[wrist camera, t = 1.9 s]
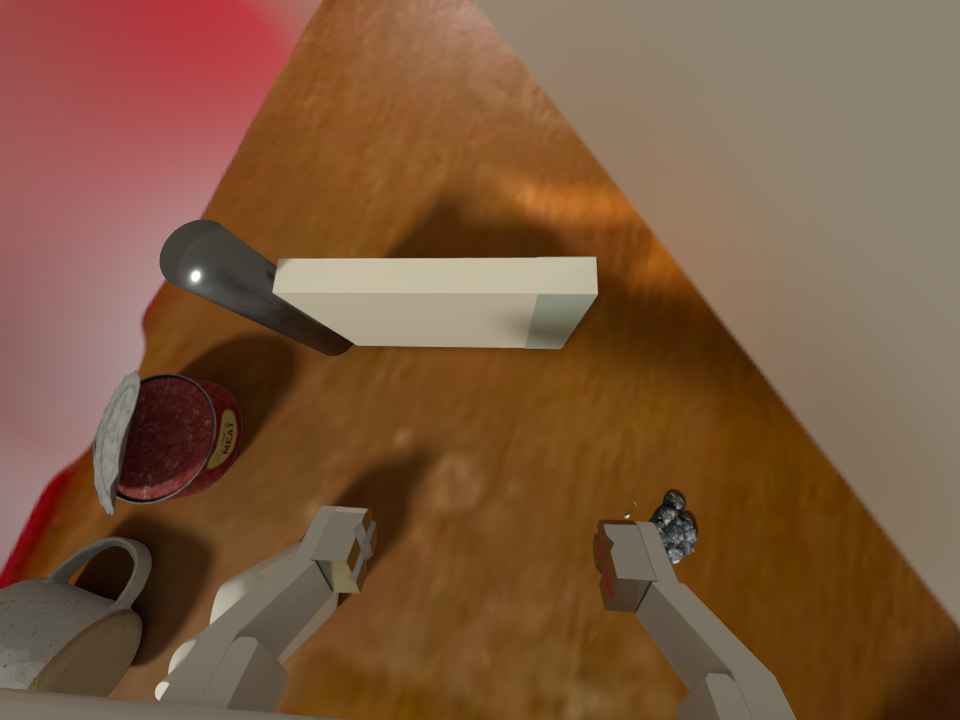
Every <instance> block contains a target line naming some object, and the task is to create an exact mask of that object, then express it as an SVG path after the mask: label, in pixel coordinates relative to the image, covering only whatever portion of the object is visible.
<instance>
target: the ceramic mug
mask: <svg viewBox="0 0 960 720" xmlns="http://www.w3.org/2000/svg"><path fill="white" fill-rule="evenodd" d="M112 546H118V547H121V548H124V549H126V550H128V551H129V553H130V555H131V557H132V558H133V561H134V569H133V572H132V576H131V578H130V580H129V581H128V583H127V585H126V587H125V589H124V591H123V592H122V593H121V594H120V596H119V597H118V599H117V601H115V600H112V599H108V598H104V597H101V596H98V595H95V594H93V593H91V592H89V591H86V590H84V589H82V588H79V587H77V586H75V585H71V584H68V582H67V581H68V580H69V579H70V577H71V576H72V575H73V574H74V573H75V572H76V571H77V570H79V568H80V567H81V566H83V565H84V564H85V563H86V562H87V561H88V560H90V559H91V558H92V557H94V556H95V555H96V554H98V553H100V552H101V551H103V550H105V549H107V548H110V547H112ZM151 566H152V557H151V554H150V552H149V550H148V548H147V547H146V546H145V545H144V544H143V543H141V542H139V541H137V540H133V539H128V538H123V537H108V538H104V539H101V540H98V541H96V542H93V543H91V544H89V545H87V546H85V547H84V548H82V549H81V550H79V551H77V552H76V553H74V554H73V555H72V556H70V557H69V558H68V559H66V560H65V561H64V562H63V563H62V564H61V565H59V566H58V567H57V568H56V569H55V570H54V571H53V572H52V573H51V574H50V575H49V576H48V577H47V578H36V579H31V580H25V581H21V582H18V583H15V584H13V585H10V586H8V587H5V588H2V589H0V687H1V688H12V689H23V690H33V691H44V692H55V693H66V694H77V695H87V696H98V697H107V696H108V695H109V694H110V693H111V691H112V690H113V689H114V688H115V687H116V685H117V684H118V683H119V681H120V680H121V678H122V677H123V676H124V674H125V673H126V671H127V669H128V668H129V666H130V664H131V662H132V660H133V658H134V657H135V654H136V652H137V650H138V647H139V644H140V641H141V636H142V620H141V618H140V616H139V615H138V614H137V613H135V612H134V611H133V610H132V609H131V605H132V604H133V602H134V601H135V599H136V598H137V597H138V595H139V594H140V593H141V591H142V590H143V588H144V586H145V583H146V580H147V579H148V576H149V573H150V571H151Z"/></svg>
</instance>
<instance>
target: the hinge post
mask: <svg viewBox="0 0 960 720" xmlns="http://www.w3.org/2000/svg"><path fill="white" fill-rule="evenodd" d="M160 268H161V271H162V273H163V275H164V277H165V278H166V279H167V280H168V281H169V282H171V283H172V284H174V285H176V286H178V287H181V288H183V289H185V290H187V291H189V292H191V293H194V294H196V295H198V296H200V297H202V298H204V299H207V300H209V301H211V302H213V303H215V304H217V305H220V306H222V307H224V308H226V309H228V310H230V311H233V312H235V313H237V314H239V315H241V316H243V317H246V318H248V319H250V320H252V321H254V322H256V323H259V324H261V325H263V326H265V327H267V328H269V329H272V330H274V331H276V332H278V333H280V334H282V335H285V336H287V337H289V338H291V339H293V340H296V341H298V342H300V343H302V344H304V345H306V346H309V347H311V348H313V349H315V350H317V351H319V352H322V353H324V354H326V355H330V356H336V355H340V354H342V353H344V352H346V351H347V350H348V349H349V348H350V347H351V345H352V342H351V341H349V340H348V339H346V338H344V337H343V336H341V335H340V334H338V333H336V332H335V331H333V330H332V329H330V328H328V327H327V326H325V325H324V324H322V323H320V322H319V321H317V320H315V319H314V318H312V317H311V316H309V315H307V314H306V313H304V312H303V311H301V310H299V309H298V308H296V307H295V306H293V305H291V304H290V303H288V302H287V301H285V300H283V299H282V298H280V297H279V296H277V295H275V294H274V293H272V292H273V286H274V281H275V275H276V269H277V266H275V265H274V264H273V263H271V262H270V261H269V260H267V259H266V258H265V257H263V256H262V255H261V254H259V253H258V252H257V251H255V250H254V249H253V248H251V247H250V246H249V245H247V244H246V243H245V242H243V241H242V240H241V239H239V238H238V237H237V236H235V235H234V234H233V233H231V232H230V231H229V230H227V229H226V228H225V227H223V226H222V225H220V224H219V223H217V222H215V221H211V220H196V221H192V222H189V223H187V224H185V225H183V226H181V227H180V228H178V229H177V230H175V231H174V233H173V234H171V235H170V237H169V238H168V239H167V241H166V242H165V244H164V246H163V248H162V250H161V254H160Z"/></svg>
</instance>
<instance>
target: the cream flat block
mask: <svg viewBox="0 0 960 720" xmlns="http://www.w3.org/2000/svg"><path fill="white" fill-rule="evenodd" d="M272 293H274V294H275V295H277V296H279V297H280V298H282V299H283V300H285V301H287V302H288V303H290V304H291V305H293V306H295V307H296V308H298V309H299V310H301V311H303V312H304V313H306V314H307V315H309V316H311V317H312V318H314V319H315V320H317V321H319V322H320V323H322V324H324V325H325V326H327V327H328V328H330V329H332V330H333V331H335V332H336V333H338V334H340V335H341V336H343V337H344V338H346V339H348V340H349V341H351V342H352V343H354V344H356V345H357V346H425V347H495V348H524V349H562V347H563V346H564V344H565V343H566V341H567V340H568V338H569V337H570V335H571V334H572V332H573V331H574V329H575V328H576V326H577V325H578V323H579V322H580V320H581V319H582V317H583V316H584V314H585V313H586V312H587V310H588V309H589V307H590V306H591V304H592V303H593V301H594V300H595V298H596V297H597V295H598V286H597V265H596V257H537V258H376V259H278V264H277V269H276V275H275V281H274V286H273V292H272Z"/></svg>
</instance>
